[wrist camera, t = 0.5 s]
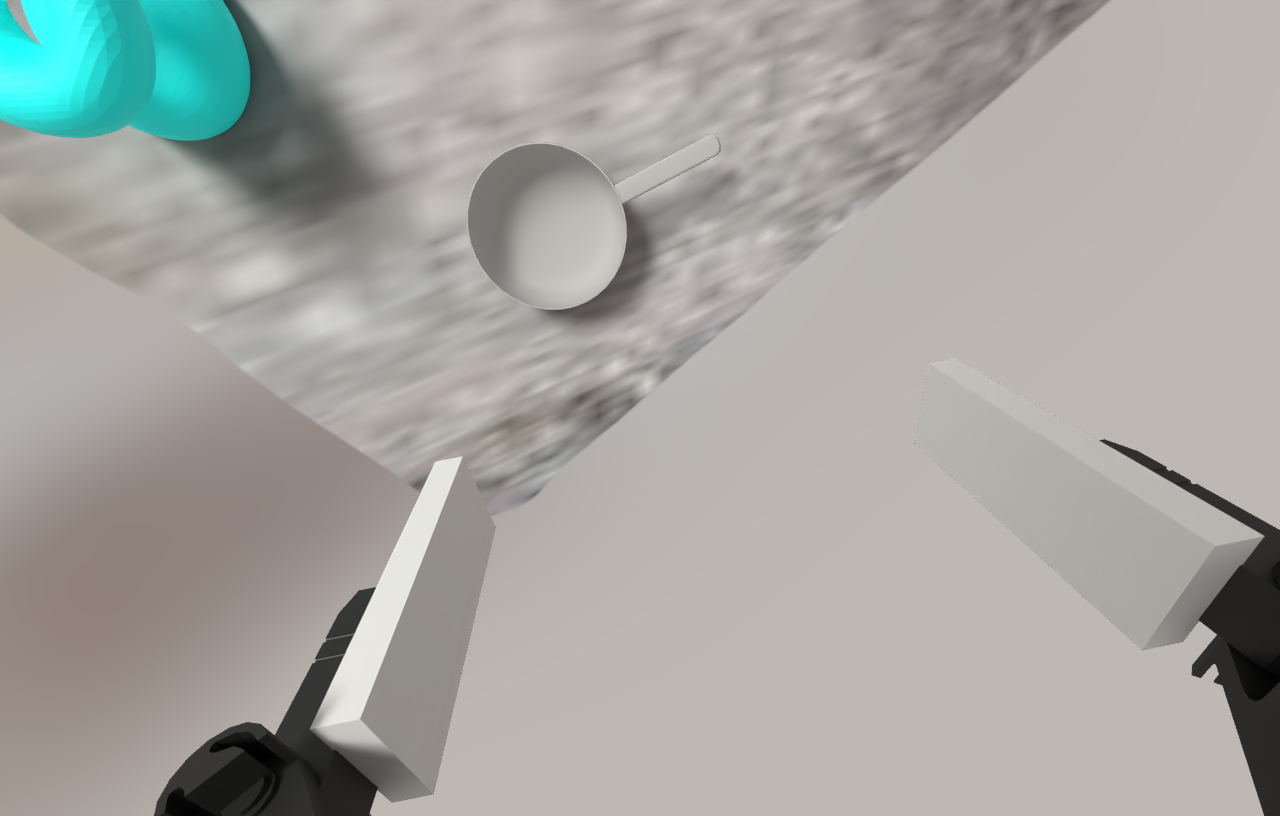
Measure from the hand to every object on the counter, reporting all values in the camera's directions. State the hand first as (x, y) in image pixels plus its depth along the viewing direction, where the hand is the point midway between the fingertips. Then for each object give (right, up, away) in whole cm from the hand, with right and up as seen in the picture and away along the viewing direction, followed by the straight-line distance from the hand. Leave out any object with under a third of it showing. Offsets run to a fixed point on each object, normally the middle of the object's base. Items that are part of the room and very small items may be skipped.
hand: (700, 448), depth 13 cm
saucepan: (-5, +16, +21) cm, 27 cm away
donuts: (-30, +23, +14) cm, 40 cm away
